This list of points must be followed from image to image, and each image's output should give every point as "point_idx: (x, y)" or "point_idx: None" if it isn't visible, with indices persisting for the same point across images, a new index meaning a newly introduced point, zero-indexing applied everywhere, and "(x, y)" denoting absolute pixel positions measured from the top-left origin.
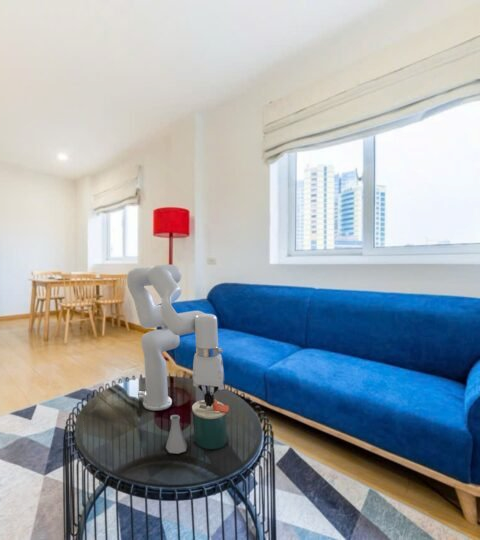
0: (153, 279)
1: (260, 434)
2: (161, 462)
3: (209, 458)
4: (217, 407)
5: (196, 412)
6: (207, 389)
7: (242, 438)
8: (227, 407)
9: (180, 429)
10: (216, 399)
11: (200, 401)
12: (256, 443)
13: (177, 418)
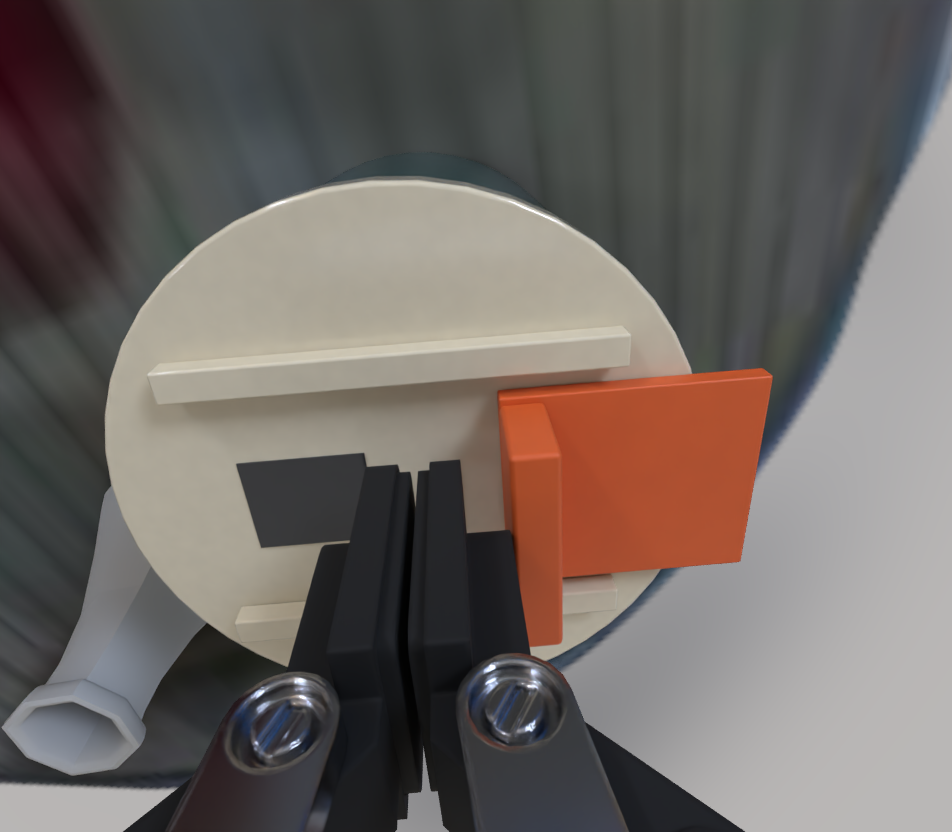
0: None
1: (928, 57)
2: (203, 651)
3: None
4: (566, 497)
5: (284, 655)
6: (347, 785)
7: (726, 205)
8: (740, 446)
9: (186, 609)
10: (553, 467)
11: (191, 400)
12: (848, 243)
13: (90, 671)
